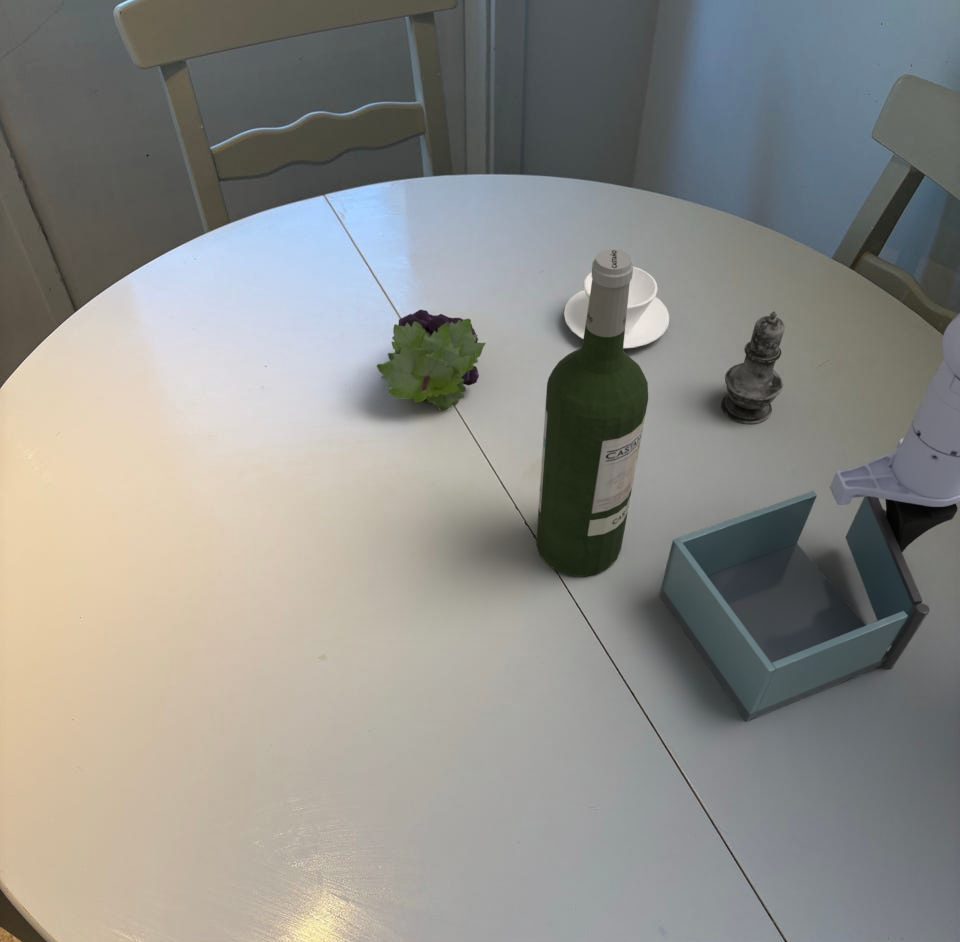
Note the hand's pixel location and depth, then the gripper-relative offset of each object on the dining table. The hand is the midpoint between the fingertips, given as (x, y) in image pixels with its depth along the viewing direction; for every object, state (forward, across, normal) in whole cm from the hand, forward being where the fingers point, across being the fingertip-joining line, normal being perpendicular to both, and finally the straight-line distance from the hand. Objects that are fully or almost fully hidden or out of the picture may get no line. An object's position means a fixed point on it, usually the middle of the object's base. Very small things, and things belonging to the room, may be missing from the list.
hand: (889, 547), depth 79 cm
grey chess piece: (+5, +5, -24) cm, 25 cm away
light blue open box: (+4, +11, +4) cm, 12 cm away
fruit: (+5, +37, -30) cm, 48 cm away
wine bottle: (+5, +26, -7) cm, 27 cm away
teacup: (+5, +16, -39) cm, 42 cm away
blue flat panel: (+3, +1, +2) cm, 4 cm away
